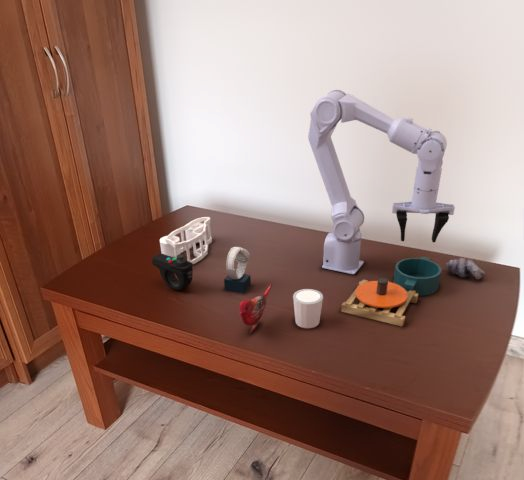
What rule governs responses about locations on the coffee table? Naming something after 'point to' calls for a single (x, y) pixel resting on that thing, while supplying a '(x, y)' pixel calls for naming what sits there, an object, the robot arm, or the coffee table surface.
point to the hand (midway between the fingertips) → (417, 240)
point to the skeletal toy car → (188, 240)
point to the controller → (174, 270)
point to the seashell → (464, 268)
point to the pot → (418, 275)
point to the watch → (237, 278)
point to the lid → (381, 294)
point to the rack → (378, 314)
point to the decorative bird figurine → (253, 309)
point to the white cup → (307, 307)
